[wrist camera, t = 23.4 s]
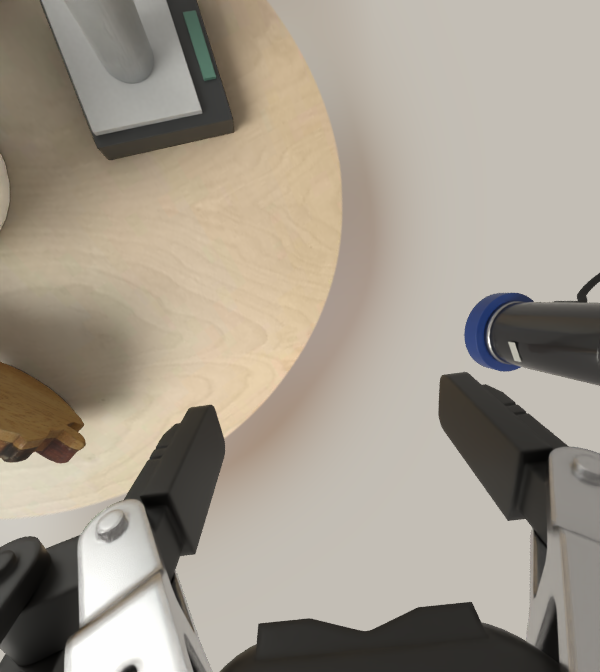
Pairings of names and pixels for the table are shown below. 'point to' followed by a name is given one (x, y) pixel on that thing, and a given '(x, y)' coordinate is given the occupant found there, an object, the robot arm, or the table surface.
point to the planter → (115, 36)
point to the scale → (147, 82)
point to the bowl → (4, 191)
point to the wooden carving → (35, 420)
